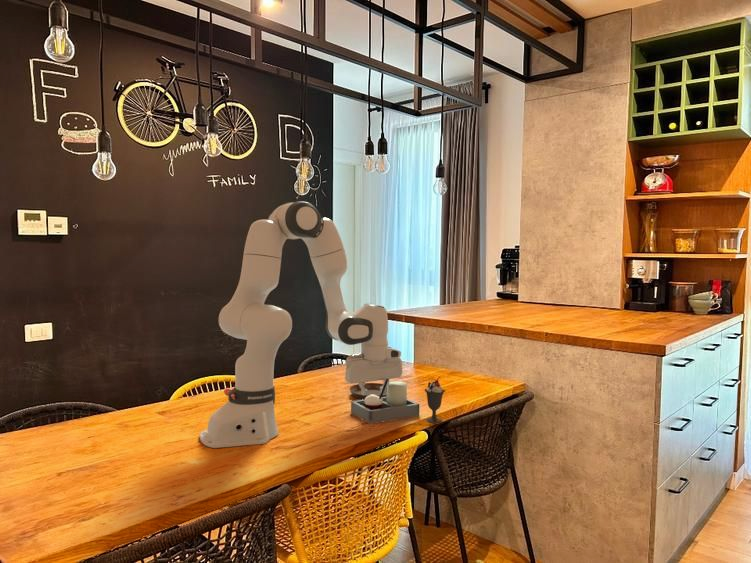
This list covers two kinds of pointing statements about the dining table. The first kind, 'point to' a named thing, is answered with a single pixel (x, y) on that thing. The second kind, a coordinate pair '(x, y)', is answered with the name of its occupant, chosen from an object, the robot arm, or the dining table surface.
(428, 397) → the sundae
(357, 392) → the plant saucer
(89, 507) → the dining table surface
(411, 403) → the caddy
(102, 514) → the dining table surface
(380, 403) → the cocoa
